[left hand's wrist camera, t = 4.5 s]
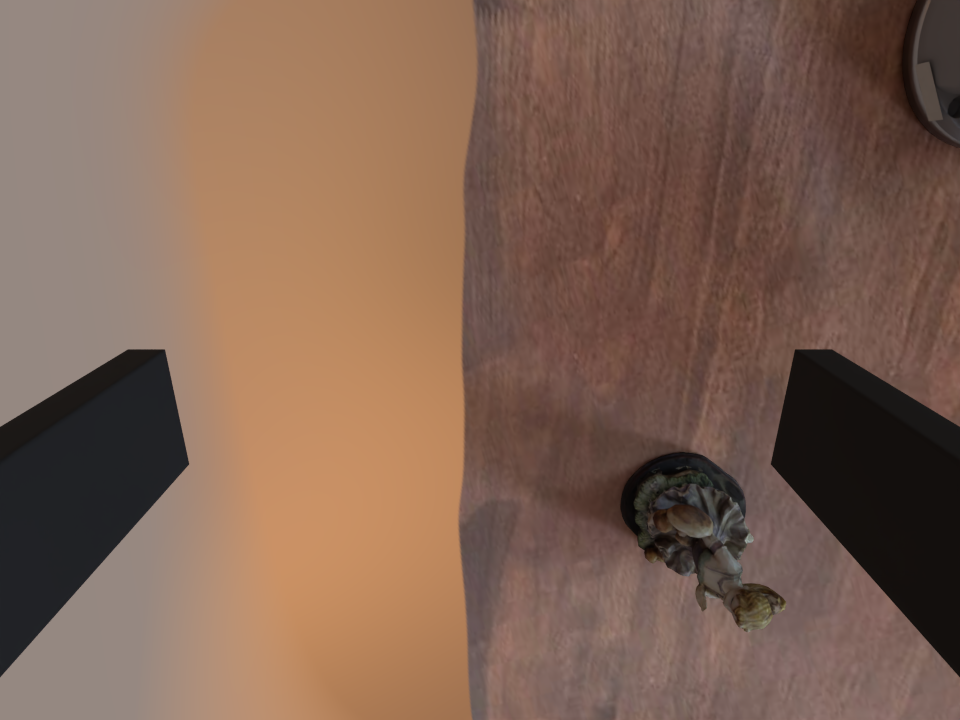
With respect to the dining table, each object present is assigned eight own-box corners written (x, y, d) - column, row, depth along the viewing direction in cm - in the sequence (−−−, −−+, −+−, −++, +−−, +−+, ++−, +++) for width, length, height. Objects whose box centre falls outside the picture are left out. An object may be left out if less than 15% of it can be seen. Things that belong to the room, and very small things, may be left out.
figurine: (604, 479, 52) (649, 605, 38) (719, 432, 50) (810, 545, 36) (649, 572, 56) (706, 717, 42) (758, 532, 54) (854, 669, 40)
